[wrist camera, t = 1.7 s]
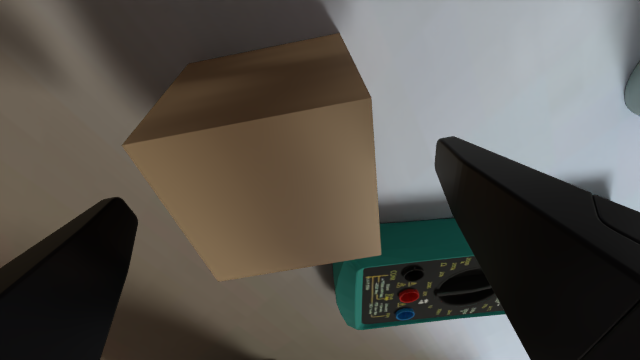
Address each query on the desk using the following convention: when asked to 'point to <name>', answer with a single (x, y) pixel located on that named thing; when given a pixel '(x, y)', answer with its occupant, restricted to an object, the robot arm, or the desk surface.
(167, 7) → the desk surface
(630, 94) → the white domed piece
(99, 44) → the desk surface
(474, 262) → the digital multimeter
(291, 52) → the walnut cube
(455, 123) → the desk surface
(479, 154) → the robot arm
